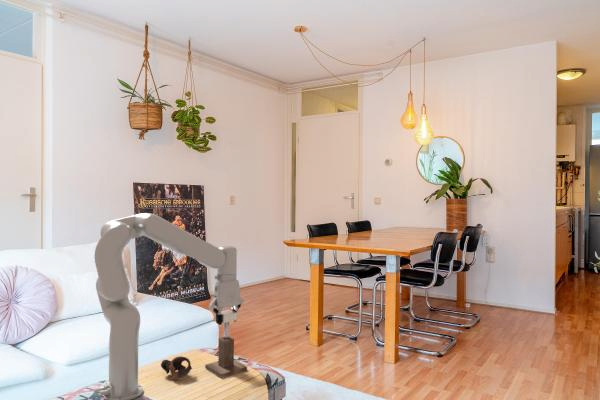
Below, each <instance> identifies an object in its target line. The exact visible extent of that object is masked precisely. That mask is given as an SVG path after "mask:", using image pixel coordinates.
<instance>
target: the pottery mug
mask: <svg viewBox="0 0 600 400" xmlns="http://www.w3.org/2000/svg"><path fill="white" fill-rule="evenodd" d="M183 362H186V363H187V367H186V365H183ZM160 367H161V368H162V370H164V371H165V372H166V373H165V374H167V375H168V374H169V373H170V374H172V378H171V379H172V381H174V380H176V381H177V380H178V379H182V378H183V377H185V376H188V374H190V372H191V370H192V369H193V367H192V365H191V361H190V359H189V358H188V357H186V356H176V357H174V358H172V360H169V359H164V360H162V361H161V363H160Z"/></svg>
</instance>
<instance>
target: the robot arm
mask: <svg viewBox="0 0 600 400" xmlns="http://www.w3.org/2000/svg"><path fill="white" fill-rule="evenodd" d="M141 237H146V238H147V239H150V240H152V241H154V242H156V243H157V244H160V245H162V246H163V247H165V248H167V249H168V250H171V251H174V252H175V253H178V254H181V255H185V256H187V257H190V258H192V259H193V260H196V261H197V262H198V263H199V264H200V265H202V266H205V267H208V268H210V269H214V270H216V269H217V273H216V275H215V276H214V280H216V281H215V284H214V290H213V300H212V301H211V302H210V303H209V304H208V308H209V309H210V310H212V312H213V313H214V314H215V323H216V324H217V325H218V326H222V325H223V322H222V315H221V311H223V309H224V308H231V309H232V311H234V312H237V313H238V312H239V309H240V308H241V306H242V305H243V304H244V302H245V299H243V298H242V297H241V289H240V288H241V287H240V282H239V280H238V279H237V277H238V276H237V273H238V272H237V271H238V270H237V268H238V267H237V264H238V263H237V262H238V261H237V255H238V250H237V247H235V246H231V245H224V246H215V245H213V244H211V243H210V242H208V241H205V240H203V239H202V238H201V237H198V236H196V235H194V234H193V233H191V232H189V231H187V230H185V229H183V228H181V227H180V226H177V225H176V224H174V223H173V222H171V221H168V220H166V219H165V218H163V217H161V216H159V215H157V214H154V213H150V212H143V213H138V214H133V215H130V216H126V217H122V218H117V219H112V220H110V221H107V222H105V223H104V224H103V225H102V227H101V229H100V239H99V240H98V242H97V244H96V246H95V249H94V257H93V258H94V263H95V267H96V272H97V276H98V277H97V279H96V282H95V290H96V294H97V297H98V301H99V304H100V307H101V310H102V314H103V317H104V318H105V321H106V322H107V323H108V324H109V326H110V328H109V329H110V330H109V339H108V381H105V384H104V385H103V386H101V387H96V388H93V395H94V396H96V395H99V396H100V397H101V396H103V399H104V400H133V399H136V398H138V397H140V396H141V395H142V394H143V391H144V390H143V388H144V387H143V386H142V385H141V384H139V338H140V336H139V335H140V328H141V327H140V326H141V313H140V311H139V309H138V308H137V307H136V305H134V304H132V302H130V300H129V294H130V291H131V290H130V289H131V287H130V285H131V284H130V281H129V279H128V275H127V272H126V269H125V265H124V261H123V251H124V249H125V247H126V246H127V245H128V244H129V243H130V241H131V240H133V239H137V238H141ZM237 320H238V319H237ZM237 320H235V321H233V322H234V323H235V322H238V321H237Z"/></svg>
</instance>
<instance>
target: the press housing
mask: <svg viewBox="0 0 600 400" xmlns="http://www.w3.org/2000/svg"><path fill="white" fill-rule="evenodd" d="M217 359H218V361H215V362H214V361H213V362H210V363H207V364H205V365H204V368H206V370H207V371H208V372H210V373H211V374H213V375H214V376H216V377H218V378H219V379H223V378H226V377H228V376H229V377H230V376H232V375H236V374H239V373H244V372H246V371H248V367H247V366H246V365H245V364H243V363H241V362H240V361H237V360H236V359H235V338H234V337H232V336H230V335H229V339H227V340H224V336H221V337H218V358H217Z"/></svg>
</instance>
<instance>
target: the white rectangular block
mask: <svg viewBox="0 0 600 400" xmlns="http://www.w3.org/2000/svg"><path fill="white" fill-rule="evenodd" d="M221 315H222V324H223V337H224V340H227V339H229V336H230V322H234V321H235V320H238V311H237V312H234V311H232V310H231V309H226V310H222V311H221Z"/></svg>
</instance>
